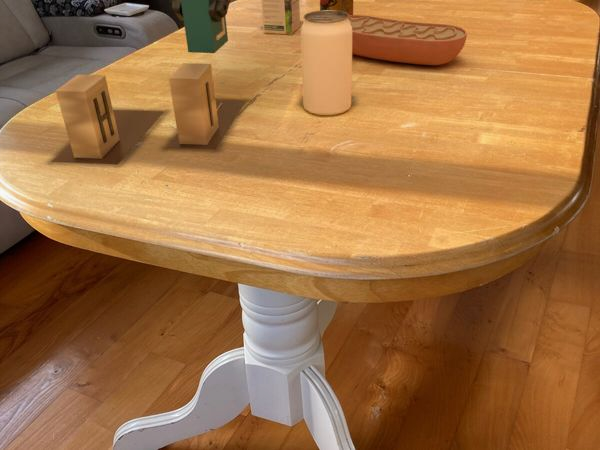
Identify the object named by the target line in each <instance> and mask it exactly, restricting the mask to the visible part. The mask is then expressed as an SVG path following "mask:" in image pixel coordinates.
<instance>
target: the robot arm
mask: <svg viewBox="0 0 600 450" xmlns="http://www.w3.org/2000/svg"><path fill="white" fill-rule="evenodd" d="M230 3H231V0H211V2H210V6H209V10H208V12H209V16H210V17H211V18H212V20H213V21H214V22H221V20H222V17H226V16H227V15H228V12H229V11H228V10H229V7H230ZM171 8H172V10H173V12H174V14H175V16H176V17H177V18H178V20H180V21H184V19H183V12H182V6H181V0H172V2H171Z"/></svg>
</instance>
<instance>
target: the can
mask: <svg viewBox="0 0 600 450" xmlns="http://www.w3.org/2000/svg"><path fill="white" fill-rule="evenodd" d="M348 18H349V14H348V13H346V12H343V11H336V10H321V11H320V10H314V11H310V12H308V13H305V14H304V15H303V23H302V25H301V26H300V55H301V56H300V58H301V81H302V83H301V87H302V105H303V108H304V109H305V111H306V112H307V113H309V114H311V115H314V116H318V117H335V116H340V115H342V114H345V113H347V112H348V111H349V110H350V109H351V107H352V89H353V87H352V86H353V85H352V83H353V81H352V80H353V75H352V74H353V54H352V26H351V24H350V22H349V19H348Z"/></svg>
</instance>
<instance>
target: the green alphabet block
mask: <svg viewBox="0 0 600 450" xmlns="http://www.w3.org/2000/svg"><path fill="white" fill-rule="evenodd" d="M210 2H211V0H181V6H182V12H183V19H184V20H183V25H184V32H185V38H186V46H187V53H194V54H196V53H197V54H198V53H200V54H215V53H216V52H218V51H219V50H220V49H221V48H222V47H223V46H224V45H225V44H226V43H228V41H229V36H228V27H227V26H228V25H227V18H226V16H225V17H222V20H221V22H214V21H213V20H212V18H211V17H210V16H209V12H208V10H209V6H210Z"/></svg>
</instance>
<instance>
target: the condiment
mask: <svg viewBox="0 0 600 450" xmlns="http://www.w3.org/2000/svg"><path fill="white" fill-rule="evenodd" d="M321 10H336V11H343V12H346V13H348V14H349V15H354V0H319V11H321Z"/></svg>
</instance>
